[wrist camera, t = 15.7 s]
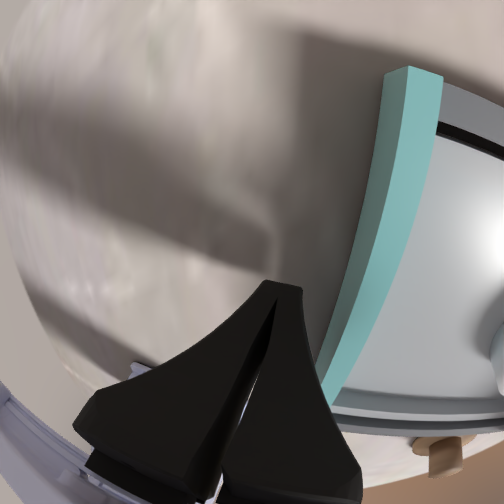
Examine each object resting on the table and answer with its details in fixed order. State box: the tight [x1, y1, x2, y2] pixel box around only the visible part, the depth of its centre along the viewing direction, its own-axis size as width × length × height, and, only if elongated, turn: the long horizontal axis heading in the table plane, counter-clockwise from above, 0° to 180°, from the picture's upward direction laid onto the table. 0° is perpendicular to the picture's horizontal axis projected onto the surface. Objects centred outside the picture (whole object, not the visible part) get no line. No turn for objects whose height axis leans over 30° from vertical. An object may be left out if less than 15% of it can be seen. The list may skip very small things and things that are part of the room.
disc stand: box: [412, 434, 477, 478], centre depth 15 cm, size 6×6×4 cm
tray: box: [315, 65, 504, 421], centre depth 8 cm, size 15×16×3 cm
